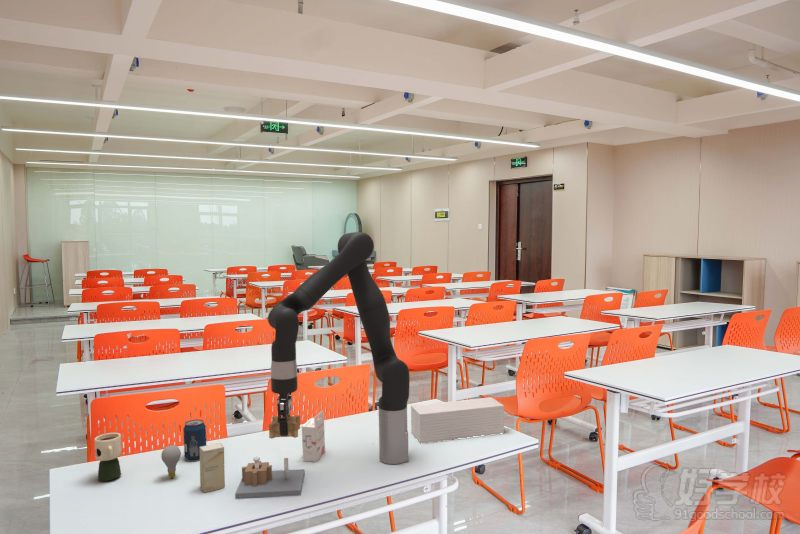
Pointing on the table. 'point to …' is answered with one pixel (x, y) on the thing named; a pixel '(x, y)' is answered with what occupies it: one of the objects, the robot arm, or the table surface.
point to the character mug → (108, 455)
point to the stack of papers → (456, 419)
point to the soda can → (194, 439)
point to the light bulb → (171, 459)
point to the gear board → (269, 481)
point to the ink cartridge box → (313, 438)
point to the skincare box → (212, 467)
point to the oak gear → (292, 427)
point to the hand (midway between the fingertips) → (285, 431)
